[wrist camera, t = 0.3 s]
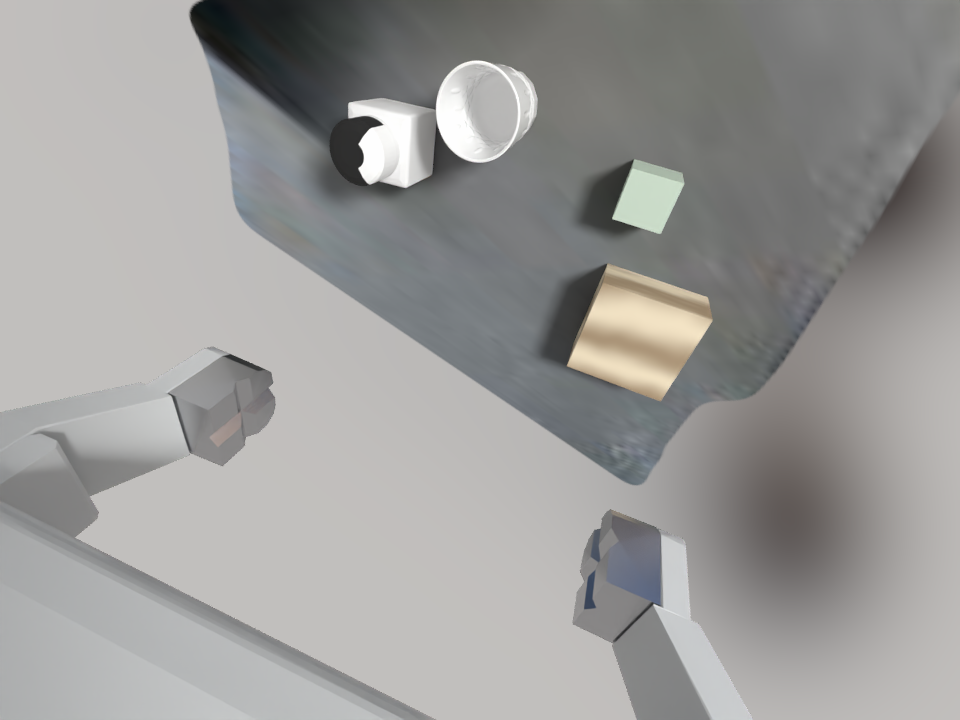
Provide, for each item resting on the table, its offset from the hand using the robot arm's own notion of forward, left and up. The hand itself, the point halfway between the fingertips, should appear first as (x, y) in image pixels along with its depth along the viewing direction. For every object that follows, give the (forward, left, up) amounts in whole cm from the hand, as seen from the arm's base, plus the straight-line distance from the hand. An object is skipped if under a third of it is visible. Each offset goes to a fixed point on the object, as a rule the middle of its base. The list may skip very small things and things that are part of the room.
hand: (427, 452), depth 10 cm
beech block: (+18, +11, -46) cm, 51 cm away
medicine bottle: (+5, -22, -46) cm, 51 cm away
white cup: (-1, -11, -46) cm, 47 cm away
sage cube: (+3, +6, -46) cm, 46 cm away
